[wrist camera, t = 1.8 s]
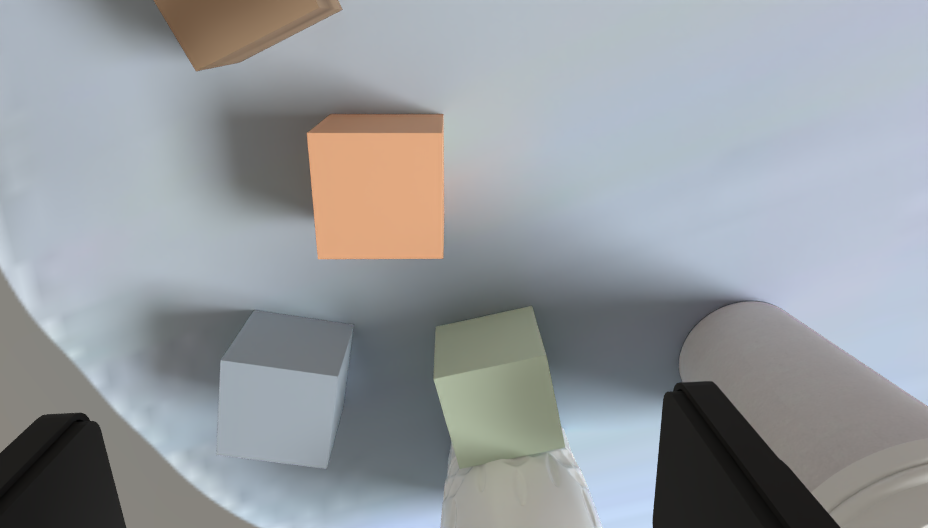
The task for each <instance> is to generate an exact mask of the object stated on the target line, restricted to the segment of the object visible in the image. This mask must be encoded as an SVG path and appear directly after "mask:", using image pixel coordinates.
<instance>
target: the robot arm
mask: <svg viewBox="0 0 928 528" xmlns="http://www.w3.org/2000/svg"><path fill="white" fill-rule="evenodd" d="M0 528H126V525H125V522H124V518H123V513H122V510H121V506H120V502H119V498H118V494H117V491H116V486H115V483H114V479H113V475H112V471H111V467H110V463H109V460H108V456H107V452H106V448H105V444H104V441H103V436H102V433H101V429H100V427H99V425H98V424H97V423H96V422H94V421H90V420H89V418H88V417H87V416H86V415H85V414H83V413H67V414H47V415H42V416H41V417H39V418H38V419H37V420H35V421H34V422H33V423H32V424H31V425H30V426H29V427H28V428H27V429H26V430H25V431H24V432H23V433H21V434H20V435H19V436H18V437H17V438H16V439H15V440H14V441H13V442H12V443H11V444H10V445H9V446H7V447H6V448H5V449H4V450H3V451H2V452H1V453H0ZM653 528H841V527H840V526H839V525H838V524H837V523H836V522H835V520H834V519H833V518H832V517H831V516H830V515H829V513H828V512H827V511H826V510H825V509H824V508H823V506H822V505H821V504H820V503H819V502H818V500H817V499H816V498H815V497H814V496H813V495H812V493H811V492H810V491H809V490H808V489H807V488H806V486H805V485H804V484H803V483H802V482H801V481H800V479H799V478H798V477H797V476H796V475H795V474H794V472H793V471H792V470H791V469H790V468H789V467H788V466H787V465H786V464H785V463H784V462H783V461H782V460H780V459H779V458H778V457H777V455H776V454H775V453H774V452H773V451H772V450H771V448H770V447H769V446H768V445H767V444H766V442H765V441H764V440H763V439H762V438H761V437H760V435H759V434H758V433H757V432H756V431H755V430H754V428H753V427H752V426H751V425H750V424H749V422H748V421H747V420H746V419H745V418H744V417H743V415H742V414H741V413H740V412H739V411H738V410H737V408H736V407H735V406H734V405H733V404H732V402H731V401H730V400H729V399H728V398H727V397H726V395H725V394H724V393H723V392H722V391H721V390H720V388H719V387H718V386H717V385H716V384H715V383H714V382H713V381H699V382H679V383H677V384H676V385H675V387H674V390H673V392H666V393H665V395H664V399H663V409H662V420H661V431H660V443H659V454H658V465H657V476H656V488H655V499H654V510H653Z"/></svg>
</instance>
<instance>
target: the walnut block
mask: <svg viewBox="0 0 928 528" xmlns="http://www.w3.org/2000/svg"><path fill="white" fill-rule="evenodd" d="M154 2H155V4H156V5H157V7H158V9H159V10H160V12H161V14H162V15H163V17H164V19H165V20H166V22H167V24H168V25H169V27H170V29H171V30H172V32H173V34H174V35H175V37H176V39H177V40H178V42H179V44H180V45H181V47H182V49H183V50H184V52H185V54H186V55H187V57H188V59H189V60H190V62H191V64H192V65H193V67H194V69H195V70H196V71H200V70H205V69H210V68H215V67H220V66H225V65H230V64H234V63H239V62H242V61H244V60H246V59H247V58H249V57H251V56H253V55H255V54H257V53H259V52H261V51H263V50H265V49H267V48H269V47H271V46H273V45H275V44H277V43H279V42H281V41H282V40H284V39H286V38H288V37H290V36H292V35H294V34H296V33H298V32H300V31H302V30H304V29H306V28H308V27H310V26H312V25H314V24H316V23H318V22H319V21H321V20H323V19H325V18H327V17H329V16H331V15H333V14H335V13H337V12H339V11H341V10H343V9H342V7H341V5H340V3H339V1H338V0H154Z"/></svg>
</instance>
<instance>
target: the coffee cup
mask: <svg viewBox="0 0 928 528" xmlns="http://www.w3.org/2000/svg"><path fill="white" fill-rule="evenodd" d="M679 372H680V376H681V380H682V382H699V381H713V382H714V383H715V384H716V385H717V386H718V387H719V388H720V390H721V391H722V392H723V393H724V394H725V395H726V397H727V398H728V399H729V400H730V401H731V402H732V404H733V405H734V406H735V407H736V408H737V410H738V411H739V412H740V413H741V414H742V415H743V417H744V418H745V419H746V420H747V421H748V422H749V424H750V425H751V426H752V427H753V428H754V430H755V431H756V432H757V433H758V434H759V435H760V437H761V438H762V439H763V440H764V441H765V442H766V444H767V445H768V446H769V447H770V448H771V450H772V451H773V452H774V453H775V454H776V455H777V457H778V458H779V459H780V460H782V461H783V462H784V463H785V464H786V465H787V466H788V467H789V468H790V469H791V470H792V471H793V472H794V474H795V475H796V476H797V477H798V478H799V479H800V481H801V482H802V483H803V484H804V485H805V486H806V488H807V489H808V490H809V491H810V492H811V493H812V495H813V496H814V497H815V498H816V499H817V500H818V502H819V503H820V504H821V505H822V506H823V508H824V509H825V510H826V511H827V512H828V513H829V515H830V516H831V517H832V518H833V519H834V520H835V522H836V523H837V524H838V525H839V526H840V527H841V528H928V406H927V405H925V404H924V403H922V402H920V401H919V400H917V399H916V398H914V397H913V396H911V395H910V394H908V393H907V392H905V391H904V390H902V389H901V388H899V387H898V386H896V385H895V384H893V383H892V382H890V381H889V380H887V379H886V378H884V377H883V376H881V375H880V374H878V373H877V372H875V371H874V370H872V369H871V368H869V367H868V366H866V365H865V364H863V363H862V362H860V361H859V360H857V359H856V358H854V357H853V356H851V355H850V354H848V353H847V352H845V351H844V350H842V349H841V348H839V347H838V346H836V345H835V344H833V343H832V342H830V341H829V340H827V339H826V338H824V337H823V336H821V335H820V334H818V333H817V332H815V331H814V330H812V329H811V328H809V327H808V326H807V325H805V324H804V323H802V322H801V321H799V320H798V319H796V318H795V317H793V316H792V315H790V314H789V313H787V312H786V311H784V310H782V309H781V308H779V307H777V306H774V305H772V304H768V303H764V302H756V301H747V302H739V303H734V304H731V305H727V306H725V307H722V308H720V309H718V310H716V311H714V312H712V313H711V314H709V315H708V316H706V317H705V318H704V319H702V320H701V321H700V322H699V323H698V324H697V325H696V326H695V327H694V328H693V330H692V331H691V332H690V333H689V335H688V337H687V338H686V340H685V342H684V344H683V346H682V349H681V353H680V357H679Z"/></svg>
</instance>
